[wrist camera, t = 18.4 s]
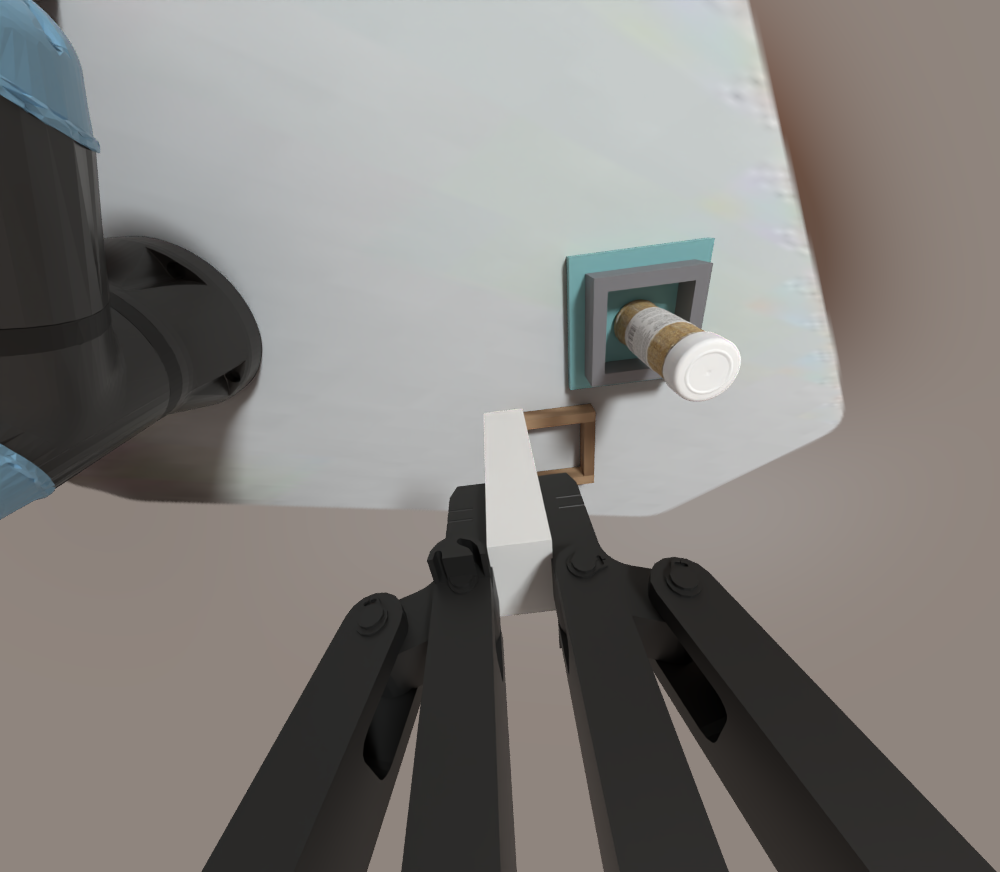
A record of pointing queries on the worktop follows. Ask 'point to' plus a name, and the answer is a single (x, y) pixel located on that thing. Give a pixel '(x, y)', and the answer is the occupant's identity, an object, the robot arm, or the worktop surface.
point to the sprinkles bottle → (678, 350)
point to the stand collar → (587, 436)
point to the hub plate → (614, 283)
